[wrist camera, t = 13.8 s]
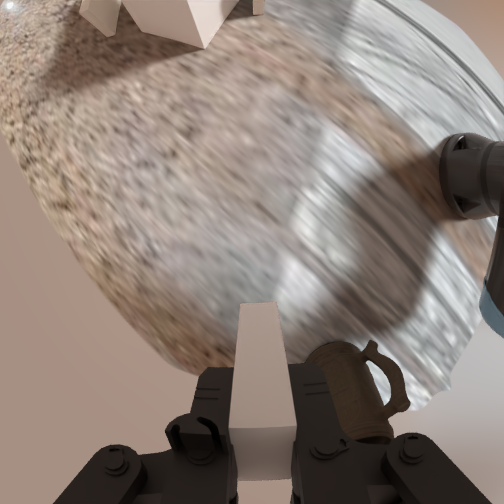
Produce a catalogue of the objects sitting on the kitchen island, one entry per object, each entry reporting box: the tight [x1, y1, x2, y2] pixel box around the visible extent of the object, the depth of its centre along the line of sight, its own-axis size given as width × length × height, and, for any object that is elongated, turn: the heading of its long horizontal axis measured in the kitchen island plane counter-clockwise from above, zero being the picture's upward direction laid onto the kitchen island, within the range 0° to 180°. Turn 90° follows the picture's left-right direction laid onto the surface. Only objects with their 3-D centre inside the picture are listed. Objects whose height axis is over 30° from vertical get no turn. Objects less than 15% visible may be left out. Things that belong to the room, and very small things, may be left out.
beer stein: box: [306, 340, 411, 445], centre depth 36 cm, size 15×11×20 cm
